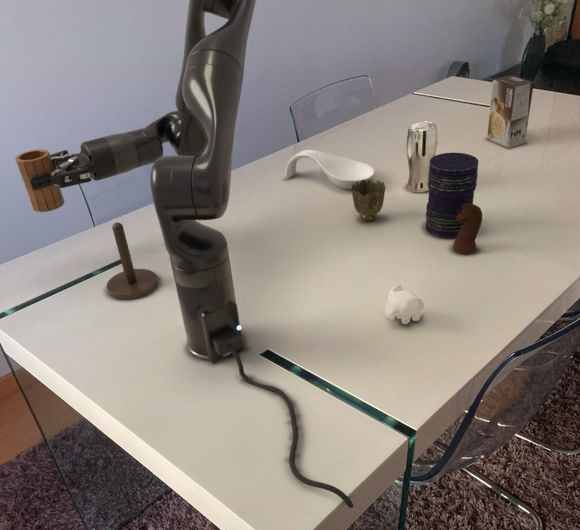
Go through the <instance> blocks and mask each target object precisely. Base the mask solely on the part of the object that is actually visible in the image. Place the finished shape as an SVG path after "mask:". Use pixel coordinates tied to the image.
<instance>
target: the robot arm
mask: <svg viewBox="0 0 580 530" xmlns="http://www.w3.org/2000/svg"><path fill="white" fill-rule="evenodd" d="M256 3H257V0H188V6H187V7H188V8H187V14H186V15H187V16H186V24H185V34H184V48H183V57H182V58H183V59H182V64H181V70H180V74H179V75H180V76H179V80H178V84H177V89H176V93H175V98H174V99H175V100H174V101H175V102H174V103H175V107H176V110H173V111H170V112H168V113H165V114H164V115H162V116H160V117H159V118H157V119H156V120H154V121H152V122H151V123H149V124H148V125H146V126H145V127H142V128H138V129H137V128H136V129H134V130H130V131H127V132H121V133H113V134H109V135H106V136H105V135H104V136H102V137H98V138H94V139H91V140H86V141H83V142H81V144H80V152H79V153H73V152H70V153H69V151H68V150H67V149H63V150H61V151H57V152H55V153H51V154H50V156H51V160H52V163H53V166H54V169H55V170H54V171H52V172H50V175H49V173H46V174H43V175H39V176H35V177H32V178H30V179H29V182H30V185H31V188H32V189H33V190H38V189H41V188H45V187H48V186H52V185H54V186H59V187H60V189H65V188H69V187H74V186H77V185H81V184H85V183H90V182H92V180H93V181H95V182H97V181H101V180H104V179H109V178H111V177H115V176H118V175H122V174H125V173H128V172H130V171H132V170H134V169H137V168H141V167H144V166H148V165H151V164H152V166H151V170H150V177H149V178H150V191H151V197H152V202H153V205H154V210H155V213H156V216H157V220H158V223H159V227H160V230H161V234H162V238H163V242H164V246H165V250H166V252H167V254H168V257H169V260H170V265H171V269H172V274H173V279H174V284H175V289H176V293H177V298H178V302H179V308H180V312H181V317H182V322H183V327H184V331H185V335H186V340H187V348H188V351H189V353H190V354H191V355H192V356H194V357H195V358H197V359H201V360H207V361H209V362H210V363H216V362H218V361H221V360H223V359H225V358H227V357H230V356H233V357H234V359H235V362H236V363H237V366H238V373H239V376H240V378H242V379H243V380H244V381H245V382H246V383H247V384H249V385H250V386H254V387H257V388H260V389H264V390H267V391H270V392H273V393H276V394H277V395H279V396H280V397H281V398H282V399H283V401H284V402H285V404H286V405H287V408H288V411H289V416H290V422H291V428H292V442H291V445H290V450H289V457H288V462H289V467H290V470H291V472H292V474H293V476H294V477H295V478H296V479H297V480H298V481H300V483H302V484H305V485H308V486H311V487H314V488H316V489H317V488H318V489H322V490H325V491H328V492H331V493H333V494H335V495H336V496H337V497H339V498H340V499H341V500H342V501H343V502H344V503H345V505H346V506H347V507H348V508H350V509H352V508H354V503H353V501H352V500H351V499H350V497H349V496H348V495H347V494H346V493H345V492H344V491H342V490H341V489H340V488H338V487H336V486H333V485H331V484H328V483H324V482H320V481H316V480H313V479H309V478H307V477H305V476H303V475H302V474H301V473H300V472H299V470H298V469H297V466H296V462H295V461H296V460H295V457H296V454H295V453H296V450H297V445H298V440H299V430H298V429H299V428H298V423H297V417H296V412H295V407H294V405H293V403H292V401H291V399H290V398H289V397H288V395H287V394H286V393H285V392H284V391H283V390H282V389H279V388H278V387H276V386H272V385H268V384H263V383H260V382H257V381H254V380H253V379H251V378H250V377H248V375H247V374H246V373H245V369H244V365H243V361H242V359H241V357H240V355H239V354H238V352H241V351H242V350H244V342H243V335H242V326H241V322H240V316H239V310H238V309H239V308H238V304H237V299H236V293H235V285H234V279H233V278H234V277H233V272H232V264H231V257H230V249H229V244H228V241H227V238H226V236H225V235H224V234H223V233H222V232H221V231H220V230H218V229H216V228H213V227H210V226H208V225H205V224H203V223H201V222H199V221H212V220H213V221H214V220H218V219H220V218H222V217H223V216H224V215H225V213H226V211H227V208H228V206H229V201H230V193H231V183H232V182H231V181H232V166H233V165H232V163H233V148H234V136H235V130H236V129H235V128H236V122H237V117H238V110H239V105H240V100H241V96H242V90H243V89H242V87H243V82H244V73H245V61H246V53H247V44H248V39H249V34H250V30H251V24H252V20H253V16H254V11H255V6H256ZM206 13H207V14H211V15H213V16H217V17H219V18H222V19H225V20H227V21H226V22H225V23H224V24H223V25H221V26H220V27H218V28H217V29H216V30H214V31H212V32H210V33H209V34H207V33H206V28H205V27H206V26H205V25H206V24H205V17H206ZM165 143H169V144H170V146H171V147H172V150H174V152H175V154H176V155H164V146H163V144H165Z"/></svg>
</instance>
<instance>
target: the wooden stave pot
mask: <svg viewBox="0 0 580 530" xmlns="http://www.w3.org/2000/svg"><path fill="white" fill-rule="evenodd" d="M50 155H51V154H50V151H48V150H47V149H40V148H39V149H31V150H28V151H24V152H22V153H19V154H18V155H16V157H15V158H14V159H15V162H16V166H17V169H18V171H19V174H20V177H21V180H22V182H23V186H24V189H25V192H26V195H27V197H28V201H29V203H30V206H31V208H32V210H33V211H34V212H37V213H46V212H51V211H55V210H58V209H60V208H61V207H63V205H64V204H65V199H64V196H63V193H62V188H60V187H59V186H54V185H52V186H48V187H45V188H41V189H38V190H33V189H32V188H31V185H30V182H29V179H30V178H32V177H35V176H39V175H43V174H46V173H49V175H50V172H52V171H54V170H55V169H54V166H53V163H52V160H51V156H50Z"/></svg>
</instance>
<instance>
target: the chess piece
mask: <svg viewBox="0 0 580 530" xmlns="http://www.w3.org/2000/svg"><path fill="white" fill-rule="evenodd" d="M464 204H465V205H463V206H461V208H462V209H463V210H462V212H461V213H460V214H459V215H458V216H457V217H456V219H457V221H458V222H459V221H461V220H465V219H467V221H466V222H465V223H464V224H463V226H462V227H461V229H460V231H459V232H458V235H457V236H456V238H455V240H453V245H452V250H453V252H454V253H456V254H459V255H462V256H463V255H465V256H466V255H471V254H474V253H475V252H476V251H477V242H476V239H477V236H478V235H479V234H478V233H479V231H480V228H481V226H482V222H483V211H482V208H481V207H479V206H478V205H477V204H474V203H473V204H466V203H464Z"/></svg>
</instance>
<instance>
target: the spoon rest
mask: <svg viewBox="0 0 580 530" xmlns="http://www.w3.org/2000/svg"><path fill="white" fill-rule="evenodd" d="M303 158H308V159H311V160H313V161H314V162H315V163H317V165H318V166H319V168H320V169H321V170H322V171H323V173H324V174H325V176H326V177H327V178H328V179H329V181H330V182H331V183H332V184H334V185H335V186H337V187H338V188H340V189H342V190H352V185H353V184H355V185H356V182H359V183H360V182H361V180H366V181H367V182H368V180H369V179H370V180H372V179H373V178H374V176H375V174H376V171H375V168H373V166H371V165H369V164H367V163H364V162H362V161H358V160H355V159H350V158H346V157H342V156H338V155H335V154H332V153H328V152H324V151H321V150H315V149H306V150H302V151H299V152H298V153H297V154H296V155H294V156H293V157H291V158H290V159H289V161H288V163H287V165H286V168H285V172H284V177H285V178H286V179H290V178H291V177H293V176H294V175H295V174H296V173H297V164H298V161H299V160H300V159H303Z"/></svg>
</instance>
